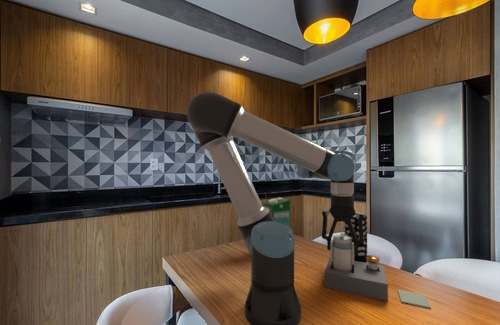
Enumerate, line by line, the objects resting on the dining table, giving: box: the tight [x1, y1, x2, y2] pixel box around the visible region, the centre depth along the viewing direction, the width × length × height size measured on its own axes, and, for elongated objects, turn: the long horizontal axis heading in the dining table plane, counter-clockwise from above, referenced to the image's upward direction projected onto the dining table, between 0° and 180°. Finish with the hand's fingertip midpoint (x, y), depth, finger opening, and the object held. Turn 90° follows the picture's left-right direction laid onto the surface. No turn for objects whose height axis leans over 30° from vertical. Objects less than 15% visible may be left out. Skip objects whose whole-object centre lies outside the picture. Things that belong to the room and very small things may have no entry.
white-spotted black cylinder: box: [344, 214, 368, 263], centre depth 93 cm, size 8×8×20 cm
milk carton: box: [262, 196, 291, 228], centre depth 106 cm, size 9×9×25 cm
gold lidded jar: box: [366, 254, 380, 272], centre depth 79 cm, size 4×4×6 cm
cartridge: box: [332, 232, 352, 273], centre depth 81 cm, size 6×6×16 cm
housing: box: [324, 256, 389, 302], centre depth 79 cm, size 14×18×5 cm
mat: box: [397, 289, 432, 310], centre depth 70 cm, size 7×7×1 cm
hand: (342, 261), depth 81 cm, fingers closed on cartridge, 6 cm apart
